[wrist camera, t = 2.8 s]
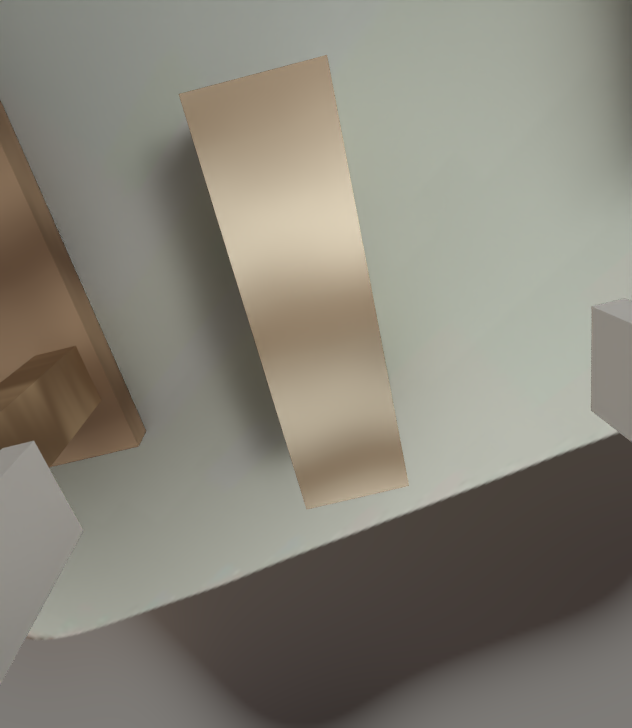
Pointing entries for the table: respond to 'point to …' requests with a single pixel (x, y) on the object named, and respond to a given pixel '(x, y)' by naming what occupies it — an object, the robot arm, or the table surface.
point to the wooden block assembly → (51, 334)
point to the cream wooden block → (302, 272)
